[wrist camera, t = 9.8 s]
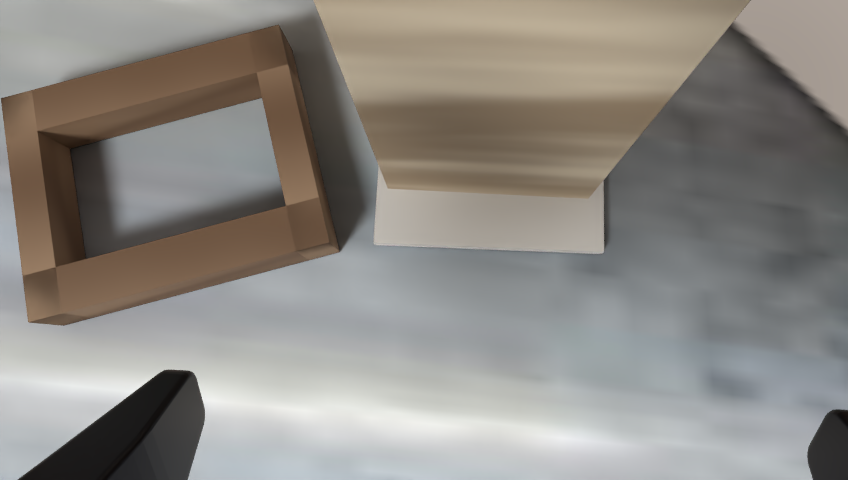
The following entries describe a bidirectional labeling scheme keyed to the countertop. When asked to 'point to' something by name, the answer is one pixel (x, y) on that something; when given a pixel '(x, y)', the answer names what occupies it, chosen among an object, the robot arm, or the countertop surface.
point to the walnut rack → (139, 109)
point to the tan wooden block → (514, 85)
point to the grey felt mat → (489, 220)
